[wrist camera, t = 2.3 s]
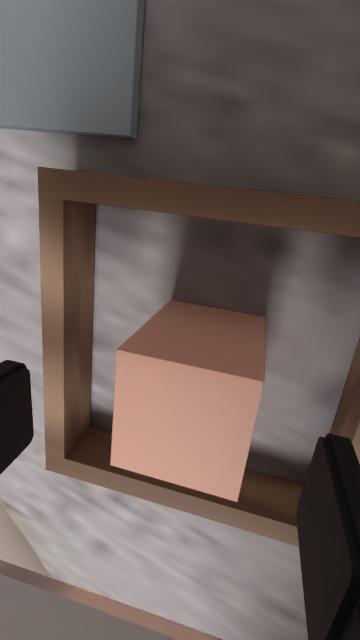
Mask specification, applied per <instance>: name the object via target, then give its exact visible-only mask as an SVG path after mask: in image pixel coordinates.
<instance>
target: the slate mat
mask: <svg viewBox="0 0 360 640" xmlns="http://www.w3.org/2000/svg"><path fill="white" fill-rule="evenodd" d="M144 9H145V0H0V128H8V129H19V130H31V131H43V132H55V133H66V134H78V135H90V136H102V137H113V138H125V139H137V123H138V107H139V90H140V74H141V58H142V42H143V25H144Z"/></svg>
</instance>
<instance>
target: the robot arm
mask: <svg viewBox="0 0 360 640" xmlns="http://www.w3.org/2000/svg"><path fill="white" fill-rule="evenodd" d="M32 438H33V417H32V400H31V384H30V372H29V370H28V369H27V368H26V366H25V364H23V363H19V362H15V361H11V360H6V361H3V362H2V363H0V474H1V473H2V472H3V471H4V470H5V469H6V468H7V467H8V466H9V465H10V464H11V463H12V462H13V461H14V460H15V459H16V458H17V457H18V456H19V455H20V454H21V452H22V451H23V450H24V449H25V448H26V447H27V446H28V445H29V444H30V443H31V441H32ZM296 520H297V530H298V540H299V550H300V560H301V570H302V580H303V590H304V601H305V611H306V621H307V631H308V640H360V463H359V461H358V458H357V455H356V452H355V450H354V447H353V444H352V441H351V439H350V438H347V437H343V436H338V435H334V434H327V435H326V437H325V438H324V437H319V439H318V441H317V445H316V448H315V451H314V454H313V457H312V461H311V464H310V467H309V470H308V473H307V476H306V480H305V483H304V486H303V489H302V492H301V496H300V499H299V502H298V505H297V512H296ZM0 640H222V639H220V638H217V637H214V636H212V635H209V634H207V633H204V632H201V631H198V630H196V629H193V628H190V627H187V626H184V625H182V624H179V623H176V622H173V621H171V620H168V619H165V618H162V617H159V616H157V615H154V614H151V613H148V612H145V611H143V610H140V609H137V608H134V607H132V606H129V605H126V604H123V603H120V602H118V601H115V600H112V599H109V598H107V597H104V596H101V595H98V594H95V593H93V592H90V591H87V590H84V589H81V588H78V587H76V586H73V585H70V584H67V583H64V582H61V581H59V580H56V579H53V578H50V577H47V576H44V575H42V574H38V573H36V572H33V571H30V570H27V569H25V568H22V567H19V566H16V565H13V564H10V563H7V562H5V561H2V560H0Z"/></svg>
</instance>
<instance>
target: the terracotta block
mask: <svg viewBox="0 0 360 640" xmlns="http://www.w3.org/2000/svg"><path fill="white" fill-rule="evenodd" d="M265 336H266V317H263V316H258V315H252V314H247V313H241V312H236V311H230V310H224V309H219V308H213V307H208V306H202V305H197V304H191V303H186V302H180V301H175V300H171V301H169V302H168V303H167V304H166V305H165V306H164V307H163V308H162V309H161V310H160V311H158V312H157V313H156V314H155V315H154V316H153V317H152V318H151V319H150V320H149V321H148V322H146V323H145V324H144V325H143V326H142V327H141V328H140V329H139V330H138V331H137V332H136V333H134V334H133V335H132V336H131V337H130V338H129V339H128V340H127V341H126V342H125V343H124V344H122V345H121V346H120V347H119V348H118V349H117V354H116V372H115V390H114V409H113V427H112V445H111V464H110V465H112V466H115V467H119V468H122V469H125V470H129V471H132V472H136V473H139V474H143V475H146V476H149V477H153V478H156V479H160V480H163V481H167V482H170V483H174V484H177V485H180V486H184V487H187V488H191V489H194V490H198V491H201V492H204V493H208V494H211V495H215V496H218V497H222V498H225V499H228V500H232V501H235V502H237V501H238V497H239V492H240V488H241V483H242V479H243V474H244V470H245V466H246V461H247V457H248V452H249V448H250V443H251V439H252V434H253V430H254V425H255V421H256V417H257V412H258V408H259V403H260V399H261V394H262V390H263V385H264V373H265Z"/></svg>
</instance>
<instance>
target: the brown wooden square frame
mask: <svg viewBox="0 0 360 640" xmlns="http://www.w3.org/2000/svg"><path fill="white" fill-rule="evenodd" d="M38 192H39V229H40V266H41V303H42V340H43V377H44V414H45V451H46V470H49V471H53V472H56V473H59V474H63V475H66V476H69V477H72V478H76V479H79V480H82V481H86V482H89V483H92V484H95V485H99V486H102V487H105V488H109V489H112V490H115V491H118V492H122V493H125V494H128V495H132V496H135V497H138V498H141V499H145V500H148V501H151V502H155V503H158V504H161V505H164V506H168V507H171V508H174V509H178V510H181V511H184V512H187V513H191V514H194V515H197V516H201V517H204V518H207V519H210V520H214V521H217V522H220V523H224V524H227V525H230V526H234V527H237V528H240V529H243V530H247V531H250V532H253V533H257V534H260V535H263V536H266V537H270V538H273V539H276V540H280V541H283V542H286V543H289V544H293V545H296V546H299V540H298V530H297V520H296V512H297V505H298V502H299V499H300V496H301V492H302V489H303V486H304V485H302V484H299V483H295V482H291V481H287V480H284V479H280V478H276V477H273V476H269V475H265V474H261V473H258V472H254V471H250V470H247V469H245V470H244V474H243V479H242V483H241V488H240V492H239V497H238V501H237V502H235V501H232V500H228V499H225V498H222V497H218V496H215V495H211V494H208V493H204V492H201V491H198V490H194V489H191V488H187V487H184V486H180V485H177V484H174V483H170V482H167V481H163V480H160V479H156V478H153V477H149V476H146V475H143V474H139V473H136V472H132V471H129V470H125V469H122V468H119V467H115V466H112V465H110V464H111V445H112V433H109V432H105V431H102V430H98V429H94V428H91V427H90V406H91V369H92V331H93V294H94V257H95V219H96V204H101V205H109V206H117V207H125V208H133V209H140V210H148V211H156V212H164V213H172V214H180V215H187V216H195V217H203V218H211V219H219V220H227V221H234V222H242V223H250V224H258V225H266V226H274V227H281V228H289V229H297V230H305V231H313V232H321V233H328V234H336V235H344V236H352V237H360V202H359V201H349V200H340V199H331V198H322V197H312V196H303V195H294V194H285V193H276V192H266V191H257V190H248V189H239V188H229V187H220V186H211V185H202V184H192V183H183V182H174V181H165V180H156V179H146V178H137V177H128V176H119V175H109V174H100V173H91V172H82V171H72V170H63V169H54V168H45V167H38ZM330 434H334V435H338V436H343V437H347V438H350V439H351V441H352V444H353V447H354V450H355V452H356V455H357V458H358V461H359V463H360V340H359V343H358V346H357V350H356V353H355V356H354V359H353V362H352V365H351V368H350V372H349V375H348V378H347V381H346V384H345V387H344V391H343V394H342V397H341V400H340V403H339V406H338V410H337V413H336V416H335V419H334V422H333V425H332V429H331V432H330Z"/></svg>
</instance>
